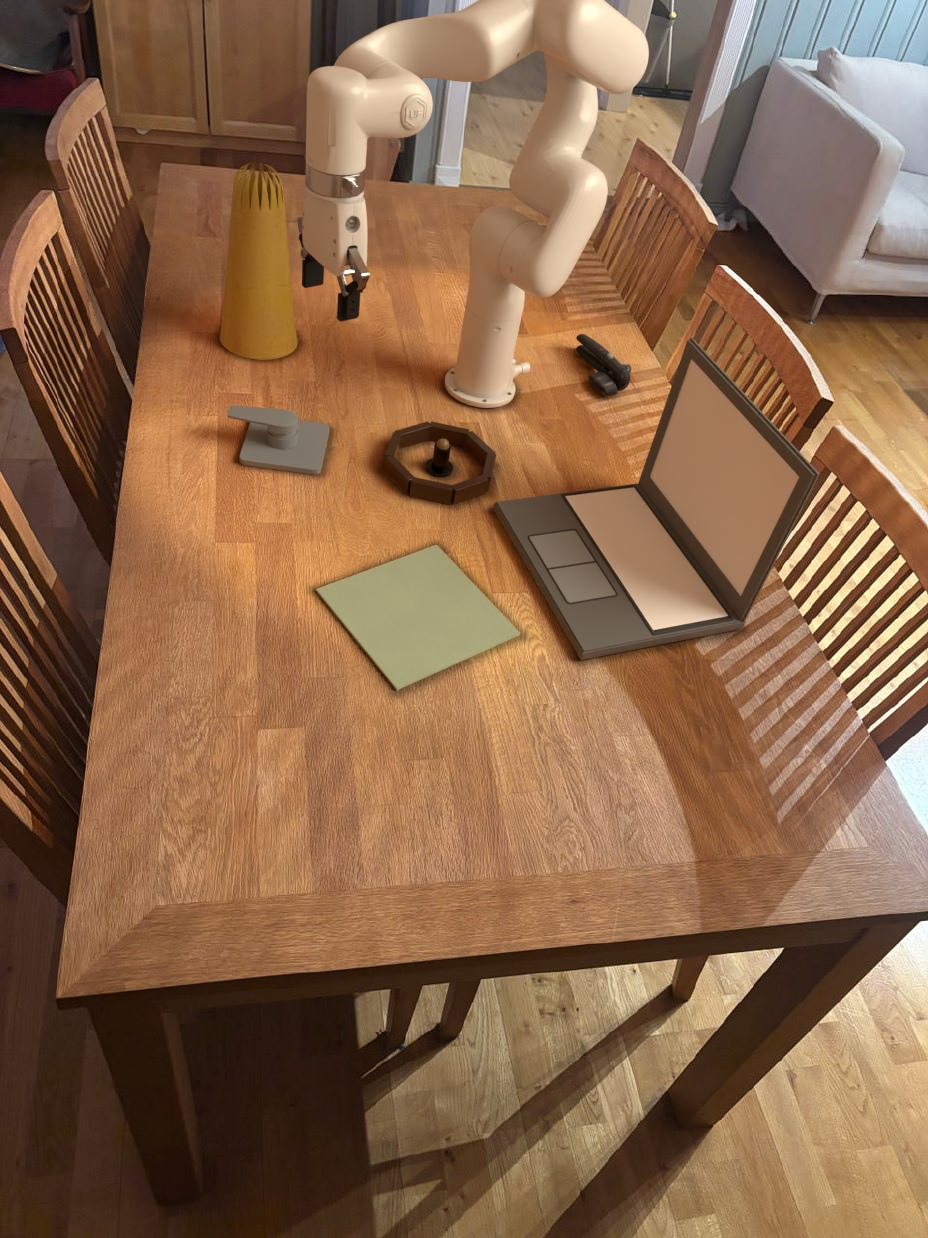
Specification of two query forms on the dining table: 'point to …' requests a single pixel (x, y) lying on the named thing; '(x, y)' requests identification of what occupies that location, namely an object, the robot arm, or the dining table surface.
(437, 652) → the sage mat
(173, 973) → the dining table surface
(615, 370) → the can opener
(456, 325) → the dining table surface
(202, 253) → the dining table surface
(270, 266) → the piping tip
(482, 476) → the hanging ring
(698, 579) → the laptop
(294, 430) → the shower valve
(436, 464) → the post
